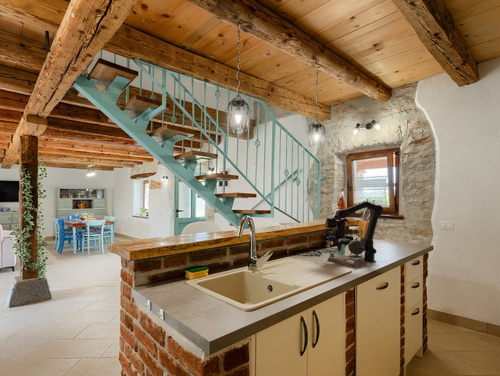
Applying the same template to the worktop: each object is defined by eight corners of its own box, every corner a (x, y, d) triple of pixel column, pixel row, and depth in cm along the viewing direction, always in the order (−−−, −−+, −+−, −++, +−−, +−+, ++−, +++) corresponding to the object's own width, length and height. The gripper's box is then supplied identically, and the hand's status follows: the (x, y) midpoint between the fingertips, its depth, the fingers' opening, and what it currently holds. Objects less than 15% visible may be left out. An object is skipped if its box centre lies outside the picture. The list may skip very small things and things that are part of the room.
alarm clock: (362, 255, 212) (363, 233, 212) (365, 257, 207) (365, 234, 207) (347, 254, 213) (348, 233, 213) (349, 256, 208) (349, 234, 208)
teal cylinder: (341, 257, 196) (341, 243, 196) (347, 259, 191) (348, 244, 191) (333, 258, 193) (334, 243, 193) (340, 260, 188) (340, 245, 188)
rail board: (340, 258, 200) (340, 251, 200) (366, 265, 181) (366, 257, 181) (327, 260, 194) (327, 252, 194) (353, 267, 175) (353, 259, 175)
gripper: (341, 226, 204) (341, 247, 204) (322, 227, 195) (322, 250, 194) (354, 228, 194) (354, 250, 194) (334, 229, 185) (334, 253, 185)
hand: (340, 251), depth 192 cm, fingers closed on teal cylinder, 3 cm apart
